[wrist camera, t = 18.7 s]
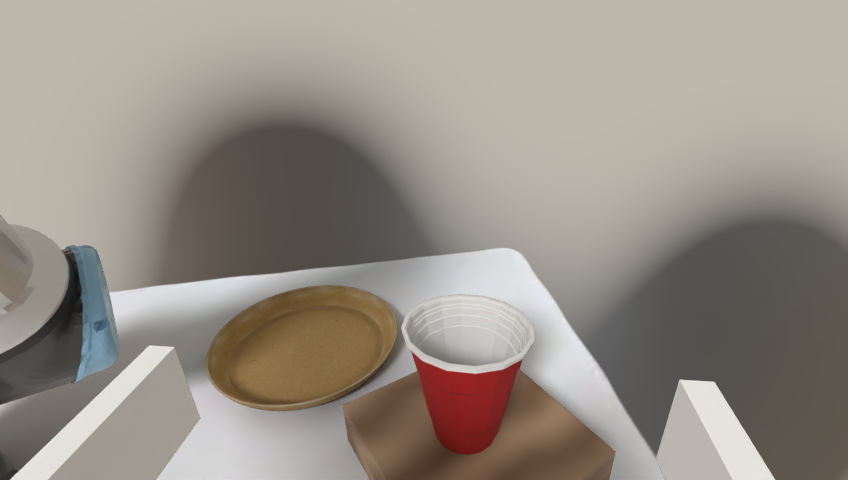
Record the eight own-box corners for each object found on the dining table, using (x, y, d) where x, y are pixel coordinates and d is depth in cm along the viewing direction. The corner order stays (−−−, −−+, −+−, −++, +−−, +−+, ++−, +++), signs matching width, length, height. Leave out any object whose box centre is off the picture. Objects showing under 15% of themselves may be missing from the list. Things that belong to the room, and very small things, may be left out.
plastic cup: (533, 399, 44) (544, 298, 39) (513, 498, 35) (523, 384, 30) (431, 373, 47) (428, 278, 42) (388, 457, 38) (377, 350, 33)
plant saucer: (173, 371, 57) (166, 351, 55) (315, 286, 74) (312, 269, 73) (298, 466, 44) (293, 443, 43) (433, 336, 61) (433, 316, 60)
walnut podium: (348, 440, 46) (342, 405, 44) (483, 372, 54) (485, 340, 52) (444, 615, 32) (443, 577, 30) (606, 488, 41) (615, 451, 38)
